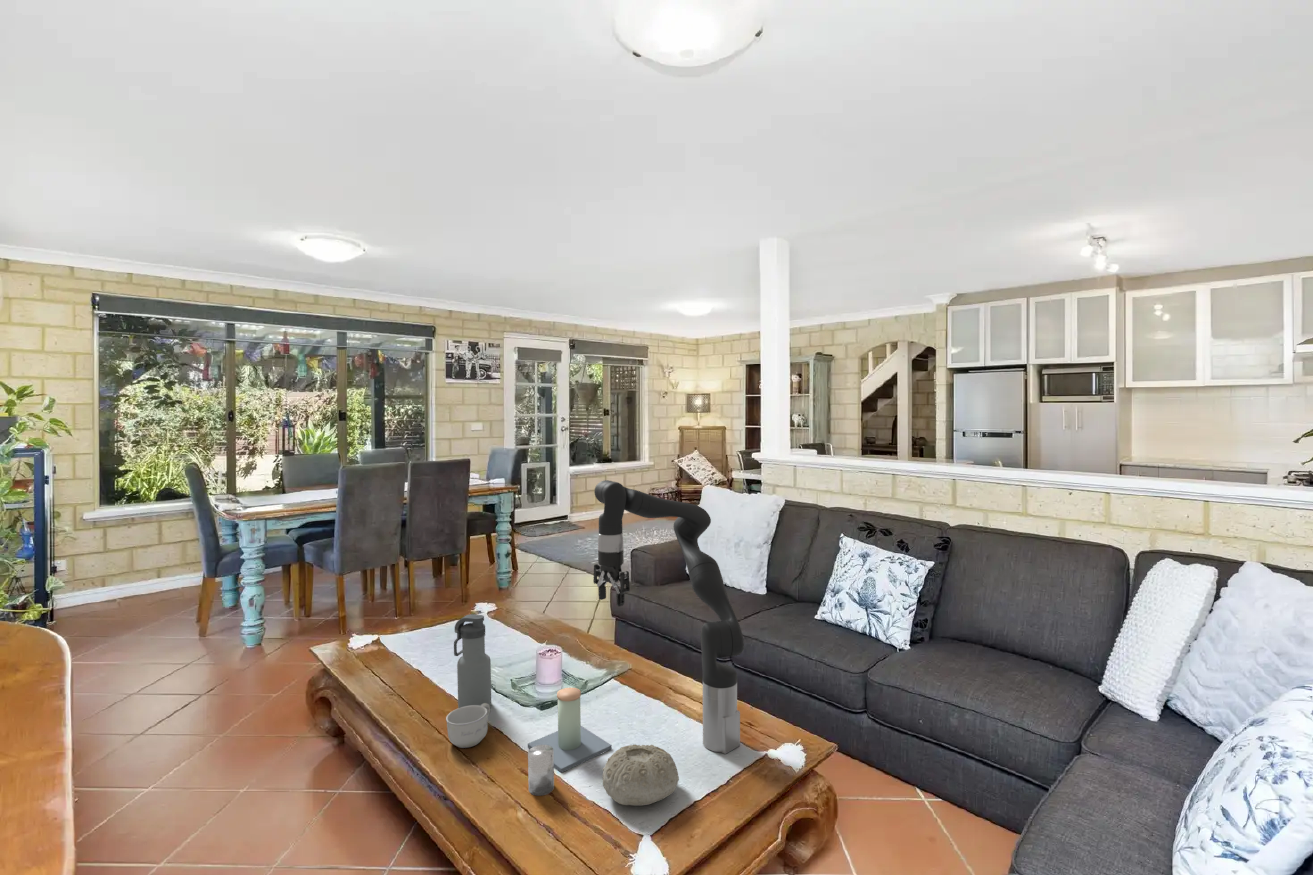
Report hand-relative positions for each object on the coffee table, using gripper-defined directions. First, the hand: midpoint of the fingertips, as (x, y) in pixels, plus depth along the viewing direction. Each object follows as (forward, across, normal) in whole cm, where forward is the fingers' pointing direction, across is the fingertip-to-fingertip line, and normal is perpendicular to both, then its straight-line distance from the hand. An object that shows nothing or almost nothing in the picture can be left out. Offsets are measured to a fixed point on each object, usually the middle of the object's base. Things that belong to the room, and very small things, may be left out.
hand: (611, 602), depth 186 cm
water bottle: (+33, -31, -29) cm, 54 cm away
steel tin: (+33, +18, -36) cm, 52 cm away
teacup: (+33, -14, -38) cm, 52 cm away
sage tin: (+32, +8, -21) cm, 39 cm away
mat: (+33, +8, -21) cm, 40 cm away
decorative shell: (+33, +36, -20) cm, 53 cm away
